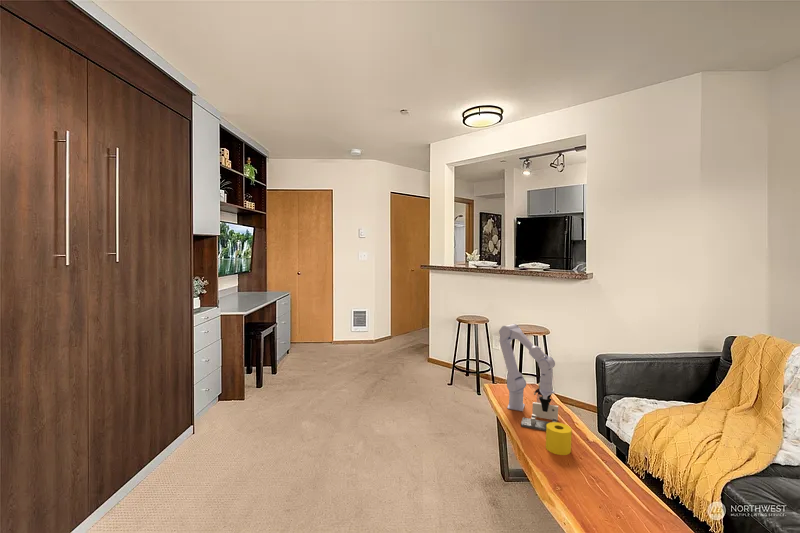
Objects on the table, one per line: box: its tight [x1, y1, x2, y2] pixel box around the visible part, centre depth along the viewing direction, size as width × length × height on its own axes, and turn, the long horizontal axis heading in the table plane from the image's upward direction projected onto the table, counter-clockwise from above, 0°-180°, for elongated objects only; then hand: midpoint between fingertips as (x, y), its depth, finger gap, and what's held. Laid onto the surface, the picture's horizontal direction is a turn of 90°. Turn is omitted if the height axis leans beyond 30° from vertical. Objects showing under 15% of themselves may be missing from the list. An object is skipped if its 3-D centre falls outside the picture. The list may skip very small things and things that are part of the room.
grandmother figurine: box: [533, 382, 542, 403], centre depth 216 cm, size 8×4×13 cm, turn 68°
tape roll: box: [545, 421, 573, 456], centre depth 171 cm, size 10×10×9 cm
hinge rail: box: [520, 414, 558, 432], centre depth 191 cm, size 8×20×4 cm, turn 67°
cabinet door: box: [531, 401, 559, 422], centre depth 201 cm, size 2×12×7 cm, turn 67°
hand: (545, 408), depth 201 cm, fingers open, 7 cm apart
